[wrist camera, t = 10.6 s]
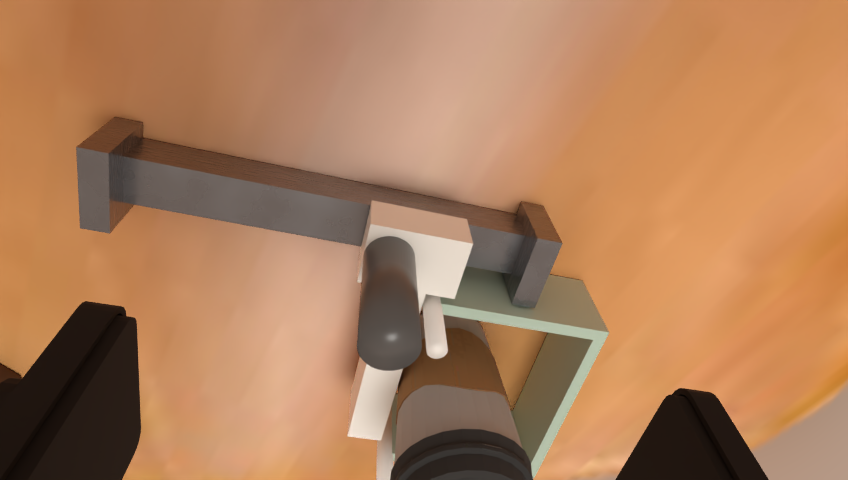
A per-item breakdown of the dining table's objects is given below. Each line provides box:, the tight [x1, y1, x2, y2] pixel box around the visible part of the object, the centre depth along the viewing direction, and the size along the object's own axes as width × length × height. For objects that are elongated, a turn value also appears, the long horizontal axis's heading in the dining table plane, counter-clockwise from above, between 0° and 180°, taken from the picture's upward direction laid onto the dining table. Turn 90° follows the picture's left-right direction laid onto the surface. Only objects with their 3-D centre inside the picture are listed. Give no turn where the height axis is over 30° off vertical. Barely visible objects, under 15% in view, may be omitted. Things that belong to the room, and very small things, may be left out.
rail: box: [76, 117, 562, 308], centre depth 36 cm, size 5×28×5 cm, turn 76°
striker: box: [348, 200, 473, 441], centre depth 35 cm, size 17×6×12 cm, turn 166°
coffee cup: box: [390, 313, 533, 480], centre depth 38 cm, size 8×8×15 cm
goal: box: [376, 266, 609, 480], centre depth 41 cm, size 15×12×10 cm
